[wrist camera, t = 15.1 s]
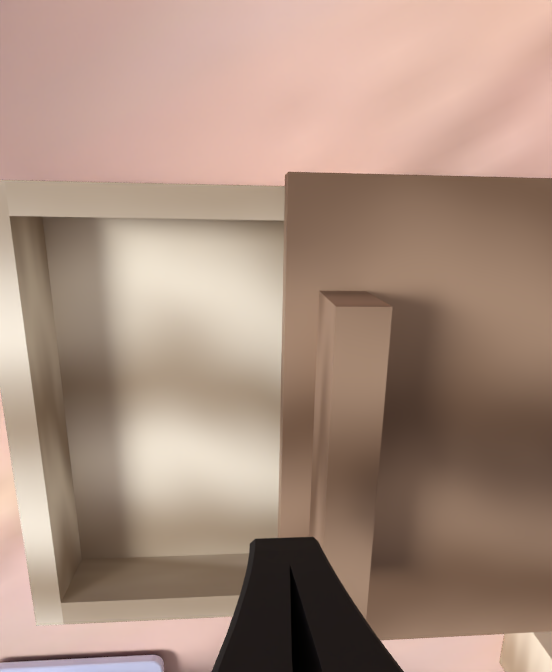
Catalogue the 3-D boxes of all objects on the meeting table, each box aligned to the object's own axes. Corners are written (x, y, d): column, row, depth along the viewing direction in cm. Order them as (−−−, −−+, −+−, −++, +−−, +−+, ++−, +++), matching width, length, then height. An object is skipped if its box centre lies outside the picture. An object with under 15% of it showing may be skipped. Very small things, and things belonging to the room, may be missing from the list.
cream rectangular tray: (515, 548, 21) (559, 601, 18) (67, 565, 20) (36, 625, 17) (579, 198, 17) (649, 193, 14) (19, 186, 16) (-32, 179, 13)
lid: (620, 605, 18) (704, 692, 15) (276, 621, 17) (283, 718, 14) (731, 186, 14) (883, 175, 11) (285, 175, 13) (299, 160, 10)
